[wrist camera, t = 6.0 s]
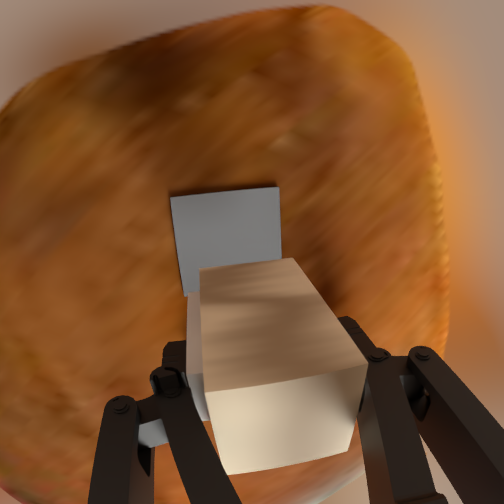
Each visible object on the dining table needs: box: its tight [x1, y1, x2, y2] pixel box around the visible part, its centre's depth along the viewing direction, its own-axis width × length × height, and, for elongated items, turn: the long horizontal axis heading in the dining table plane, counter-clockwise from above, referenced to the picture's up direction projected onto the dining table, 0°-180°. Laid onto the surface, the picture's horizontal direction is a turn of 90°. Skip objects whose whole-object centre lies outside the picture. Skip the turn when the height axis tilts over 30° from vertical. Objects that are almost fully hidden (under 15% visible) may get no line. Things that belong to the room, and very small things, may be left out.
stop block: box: [199, 258, 368, 475], centre depth 14 cm, size 5×5×9 cm
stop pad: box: [170, 187, 282, 297], centre depth 28 cm, size 9×9×1 cm
